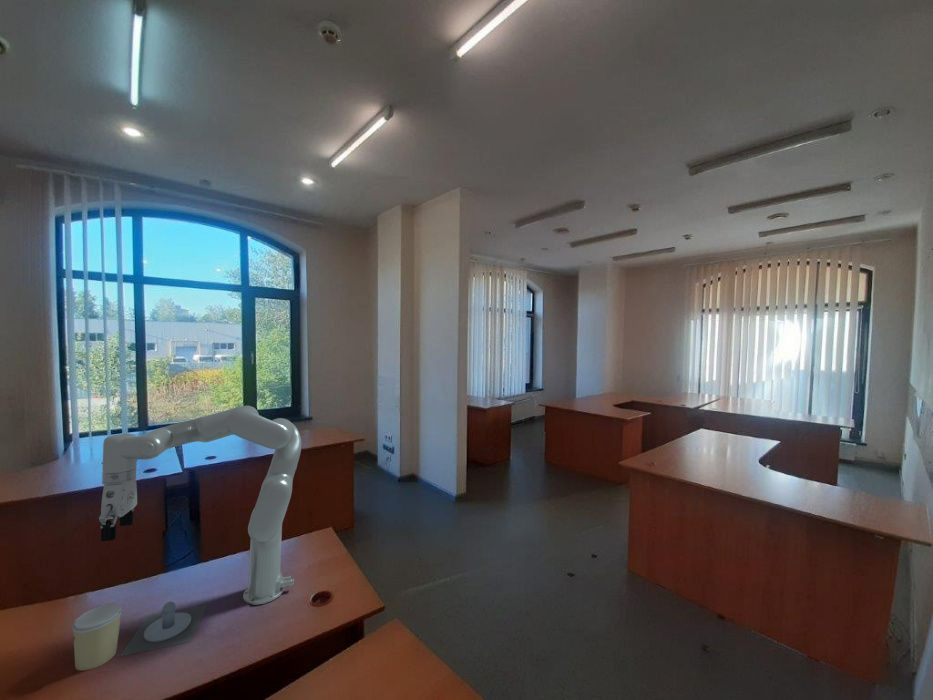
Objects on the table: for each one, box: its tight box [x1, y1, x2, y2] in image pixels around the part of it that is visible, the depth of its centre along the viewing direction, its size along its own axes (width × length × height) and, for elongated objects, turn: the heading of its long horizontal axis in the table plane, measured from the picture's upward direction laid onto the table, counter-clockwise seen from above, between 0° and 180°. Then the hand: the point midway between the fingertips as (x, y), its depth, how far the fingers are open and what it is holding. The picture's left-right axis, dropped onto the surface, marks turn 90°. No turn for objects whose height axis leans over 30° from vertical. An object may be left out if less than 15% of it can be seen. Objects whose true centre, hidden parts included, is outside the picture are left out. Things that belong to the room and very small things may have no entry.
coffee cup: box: [71, 603, 123, 671], centre depth 99 cm, size 9×9×12 cm
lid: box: [144, 600, 191, 643], centre depth 110 cm, size 11×11×8 cm
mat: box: [119, 604, 209, 657], centre depth 110 cm, size 16×16×1 cm
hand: (117, 532), depth 112 cm, fingers open, 9 cm apart
